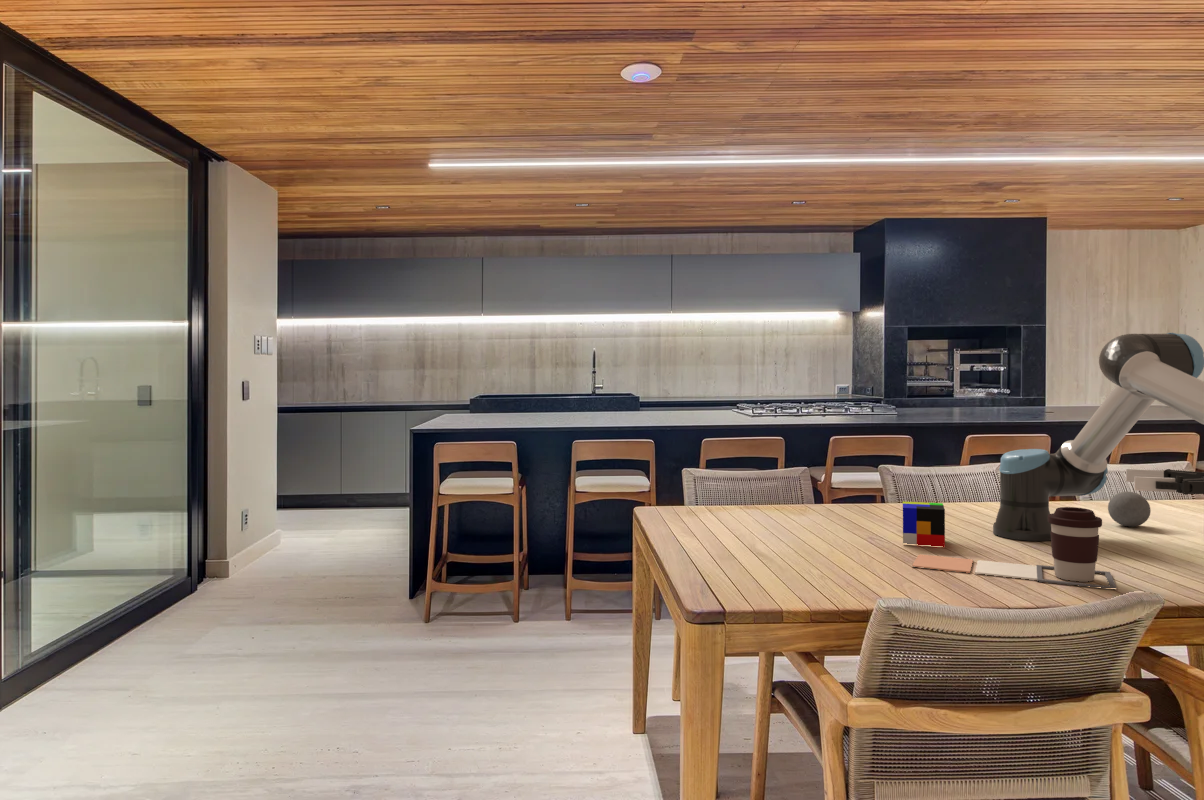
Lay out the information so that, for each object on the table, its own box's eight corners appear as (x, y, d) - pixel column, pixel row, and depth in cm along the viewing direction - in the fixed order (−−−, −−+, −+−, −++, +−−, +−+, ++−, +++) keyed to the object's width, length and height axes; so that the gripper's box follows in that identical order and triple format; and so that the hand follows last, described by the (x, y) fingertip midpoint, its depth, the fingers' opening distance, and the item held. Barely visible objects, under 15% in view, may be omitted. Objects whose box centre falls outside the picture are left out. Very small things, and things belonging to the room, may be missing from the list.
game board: (911, 568, 170) (911, 566, 170) (919, 555, 182) (919, 553, 182) (1116, 590, 151) (1116, 588, 151) (1109, 574, 163) (1109, 571, 163)
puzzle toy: (903, 545, 194) (902, 507, 193) (902, 537, 203) (902, 501, 202) (944, 548, 190) (944, 509, 189) (942, 540, 199) (942, 503, 199)
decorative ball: (1124, 530, 207) (1124, 494, 207) (1099, 523, 217) (1099, 489, 217) (1159, 529, 207) (1159, 494, 207) (1133, 522, 217) (1133, 488, 217)
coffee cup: (1053, 582, 157) (1053, 512, 157) (1043, 570, 167) (1043, 504, 166) (1107, 586, 154) (1108, 514, 154) (1094, 574, 163) (1094, 506, 163)
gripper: (1282, 514, 134) (1138, 506, 144) (1245, 494, 155) (1123, 488, 166) (1282, 473, 133) (1138, 468, 144) (1246, 459, 155) (1123, 455, 166)
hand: (1130, 479), depth 155 cm, fingers open, 13 cm apart
